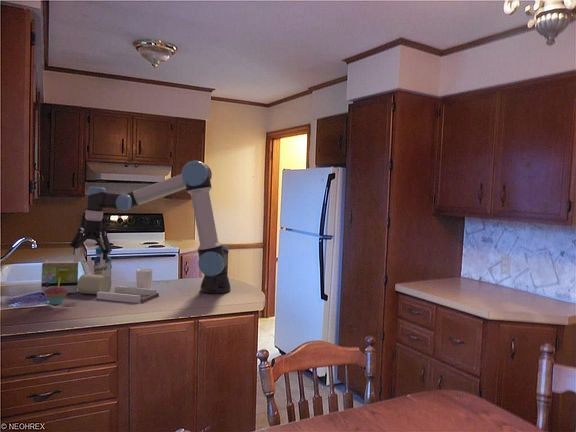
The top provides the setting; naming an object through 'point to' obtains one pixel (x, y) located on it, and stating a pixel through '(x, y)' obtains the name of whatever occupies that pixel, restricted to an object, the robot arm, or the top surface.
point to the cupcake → (56, 294)
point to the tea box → (59, 275)
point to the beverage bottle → (105, 269)
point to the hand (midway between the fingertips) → (89, 264)
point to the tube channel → (126, 294)
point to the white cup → (144, 278)
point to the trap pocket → (149, 297)
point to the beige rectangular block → (93, 284)
